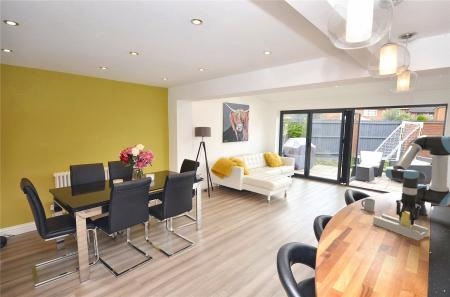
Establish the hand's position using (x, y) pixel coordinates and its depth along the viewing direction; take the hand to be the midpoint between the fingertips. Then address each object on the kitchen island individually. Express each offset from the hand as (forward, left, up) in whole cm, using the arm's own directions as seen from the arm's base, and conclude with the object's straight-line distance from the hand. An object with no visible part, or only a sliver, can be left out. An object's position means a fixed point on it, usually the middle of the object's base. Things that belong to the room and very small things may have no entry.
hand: (405, 227), depth 150 cm
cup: (-18, -36, -3) cm, 40 cm away
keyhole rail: (0, -4, -3) cm, 5 cm away
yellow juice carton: (0, 0, -2) cm, 2 cm away
